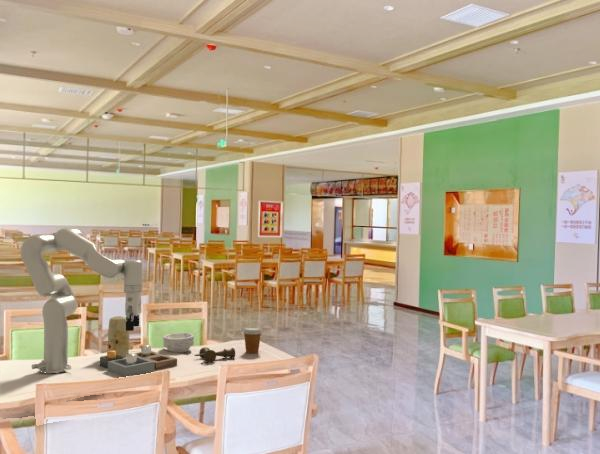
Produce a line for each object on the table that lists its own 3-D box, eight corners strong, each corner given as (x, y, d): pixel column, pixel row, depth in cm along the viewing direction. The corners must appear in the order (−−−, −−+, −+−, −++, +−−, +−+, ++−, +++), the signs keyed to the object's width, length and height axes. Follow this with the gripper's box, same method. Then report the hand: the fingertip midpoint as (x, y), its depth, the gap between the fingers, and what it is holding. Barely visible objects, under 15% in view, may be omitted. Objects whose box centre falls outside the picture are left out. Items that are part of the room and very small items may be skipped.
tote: (125, 379, 226) (125, 367, 226) (107, 372, 236) (107, 361, 236) (154, 373, 237) (154, 361, 237) (136, 367, 246) (136, 355, 246)
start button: (109, 362, 241) (109, 352, 241) (105, 361, 243) (105, 351, 243) (117, 361, 244) (117, 351, 244) (113, 359, 246) (113, 349, 246)
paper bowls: (157, 350, 279) (157, 335, 279) (183, 346, 289) (183, 331, 289) (173, 356, 268) (173, 339, 268) (199, 351, 279) (199, 336, 279)
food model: (127, 356, 266) (128, 315, 266) (130, 359, 260) (131, 317, 260) (106, 358, 261) (107, 316, 261) (109, 361, 255) (109, 318, 255)
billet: (129, 372, 233) (129, 356, 233) (123, 370, 236) (124, 354, 236) (138, 370, 236) (138, 354, 236) (132, 368, 239) (133, 352, 239)
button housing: (107, 371, 238) (108, 359, 238) (99, 368, 243) (100, 356, 243) (122, 368, 244) (122, 357, 244) (114, 365, 248) (114, 354, 248)
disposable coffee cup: (240, 350, 282) (240, 327, 282) (257, 349, 287) (258, 326, 286) (246, 354, 274) (246, 330, 274) (264, 353, 278) (264, 329, 278)
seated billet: (144, 362, 251) (144, 347, 251) (139, 360, 254) (139, 345, 254) (152, 360, 254) (153, 345, 254) (147, 359, 257) (147, 344, 257)
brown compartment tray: (177, 367, 247) (177, 358, 247) (156, 372, 239) (156, 362, 239) (149, 358, 261) (149, 350, 261) (128, 362, 253) (129, 354, 253)
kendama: (237, 361, 263) (197, 363, 254) (230, 357, 272) (191, 359, 263) (238, 348, 264) (197, 350, 254) (231, 345, 272) (191, 347, 263)
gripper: (137, 291, 228) (136, 332, 228) (146, 286, 245) (145, 324, 245) (118, 291, 227) (118, 332, 227) (129, 286, 245) (128, 324, 245)
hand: (132, 328), depth 236 cm, fingers open, 9 cm apart
